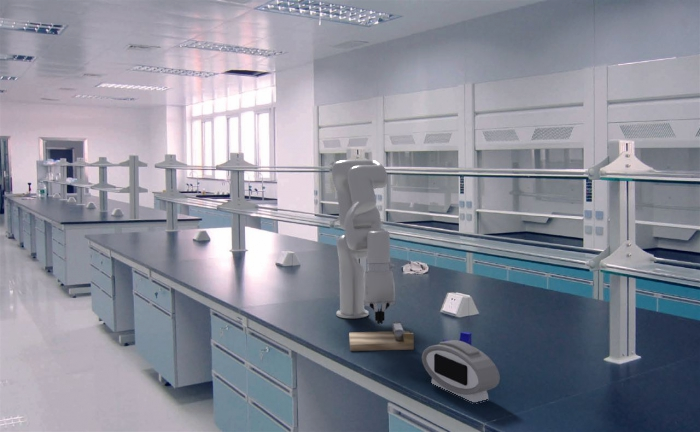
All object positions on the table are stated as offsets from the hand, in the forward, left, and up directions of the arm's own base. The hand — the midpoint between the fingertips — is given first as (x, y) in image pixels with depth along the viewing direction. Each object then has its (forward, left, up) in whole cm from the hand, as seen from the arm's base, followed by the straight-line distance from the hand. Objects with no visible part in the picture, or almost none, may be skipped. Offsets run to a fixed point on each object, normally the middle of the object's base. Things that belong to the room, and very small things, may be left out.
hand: (379, 322), depth 204 cm
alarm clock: (+47, +17, -6) cm, 50 cm away
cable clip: (+18, +23, -7) cm, 30 cm away
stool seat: (+3, 0, -6) cm, 7 cm away
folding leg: (+2, +6, -4) cm, 7 cm away
